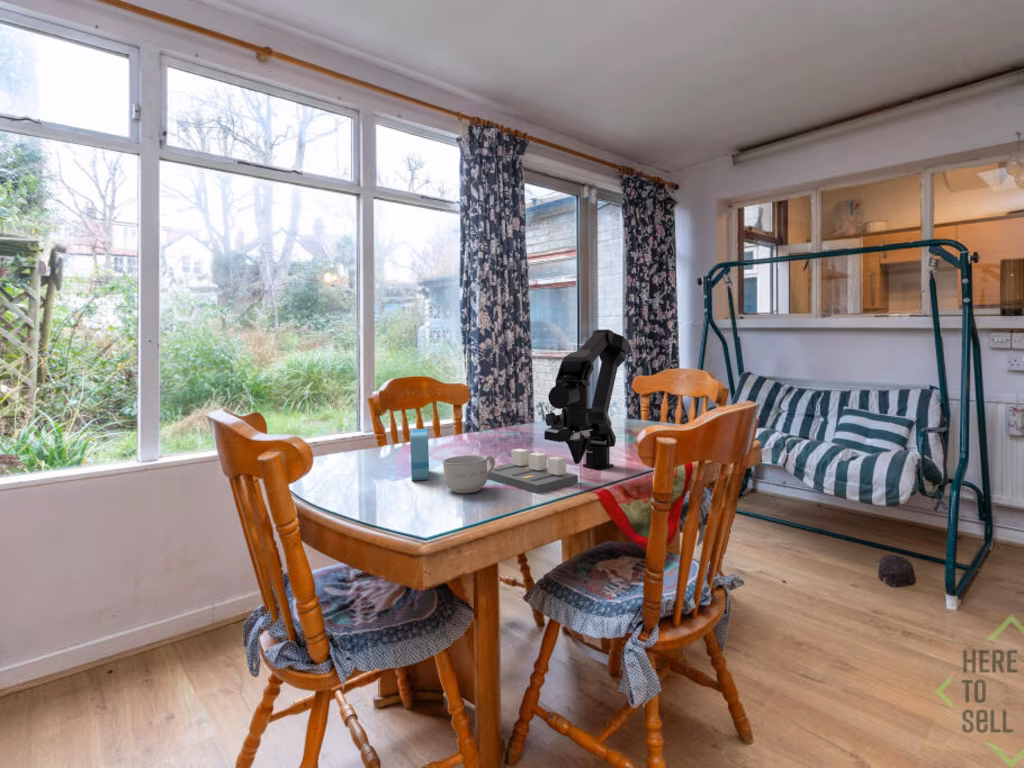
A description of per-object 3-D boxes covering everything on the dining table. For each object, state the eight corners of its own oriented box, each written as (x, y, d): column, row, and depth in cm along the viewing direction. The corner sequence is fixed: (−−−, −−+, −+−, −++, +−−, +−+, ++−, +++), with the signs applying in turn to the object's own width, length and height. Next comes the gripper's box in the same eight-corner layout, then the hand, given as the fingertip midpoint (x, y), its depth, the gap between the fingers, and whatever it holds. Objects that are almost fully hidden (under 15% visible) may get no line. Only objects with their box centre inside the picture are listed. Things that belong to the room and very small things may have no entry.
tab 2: (555, 470, 149) (555, 456, 149) (566, 473, 146) (566, 458, 146) (547, 472, 147) (547, 458, 147) (557, 475, 144) (557, 460, 144)
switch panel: (519, 468, 163) (519, 460, 162) (577, 482, 146) (577, 474, 146) (480, 476, 154) (480, 469, 153) (537, 493, 137) (537, 484, 137)
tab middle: (537, 466, 154) (537, 452, 154) (546, 468, 151) (546, 454, 151) (528, 468, 152) (528, 453, 152) (538, 470, 150) (538, 456, 149)
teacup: (453, 499, 133) (452, 465, 133) (436, 488, 143) (436, 456, 142) (507, 490, 140) (506, 458, 139) (487, 480, 149) (487, 450, 149)
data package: (429, 481, 150) (427, 435, 149) (411, 482, 149) (410, 436, 148) (429, 470, 162) (427, 427, 161) (412, 471, 161) (411, 428, 160)
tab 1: (519, 462, 159) (519, 448, 159) (528, 464, 157) (528, 450, 156) (511, 463, 158) (511, 450, 157) (520, 466, 155) (520, 452, 154)
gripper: (578, 398, 162) (578, 453, 164) (529, 405, 150) (529, 464, 151) (609, 402, 154) (609, 459, 155) (560, 408, 142) (560, 471, 143)
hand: (577, 463), depth 151 cm, fingers closed
